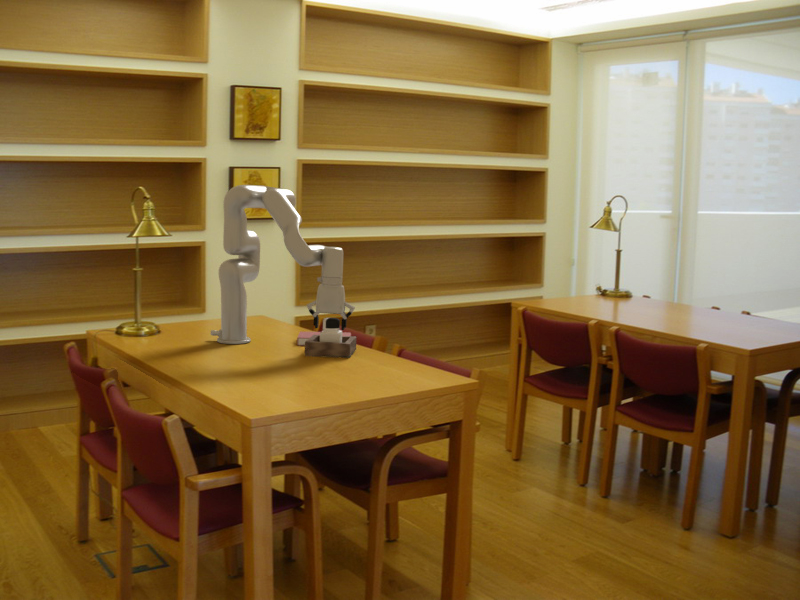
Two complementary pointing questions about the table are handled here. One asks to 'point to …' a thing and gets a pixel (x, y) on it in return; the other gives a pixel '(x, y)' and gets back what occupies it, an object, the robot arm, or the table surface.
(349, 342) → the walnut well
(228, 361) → the table surface
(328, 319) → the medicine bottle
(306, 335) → the pink flat slab
